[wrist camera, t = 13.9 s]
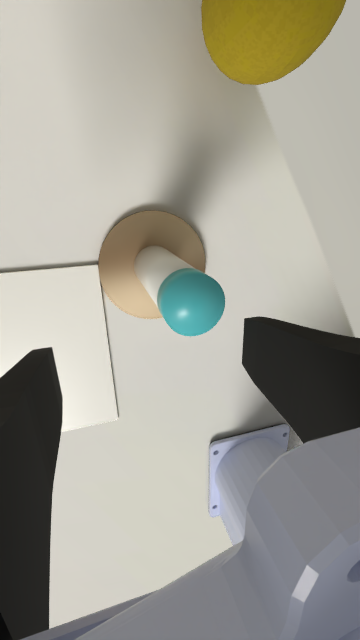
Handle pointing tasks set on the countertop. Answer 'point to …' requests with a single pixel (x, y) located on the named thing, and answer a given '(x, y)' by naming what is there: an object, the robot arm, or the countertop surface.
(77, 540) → the countertop surface
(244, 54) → the lemon
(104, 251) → the coaster
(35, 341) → the paper
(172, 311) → the marker
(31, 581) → the robot arm
